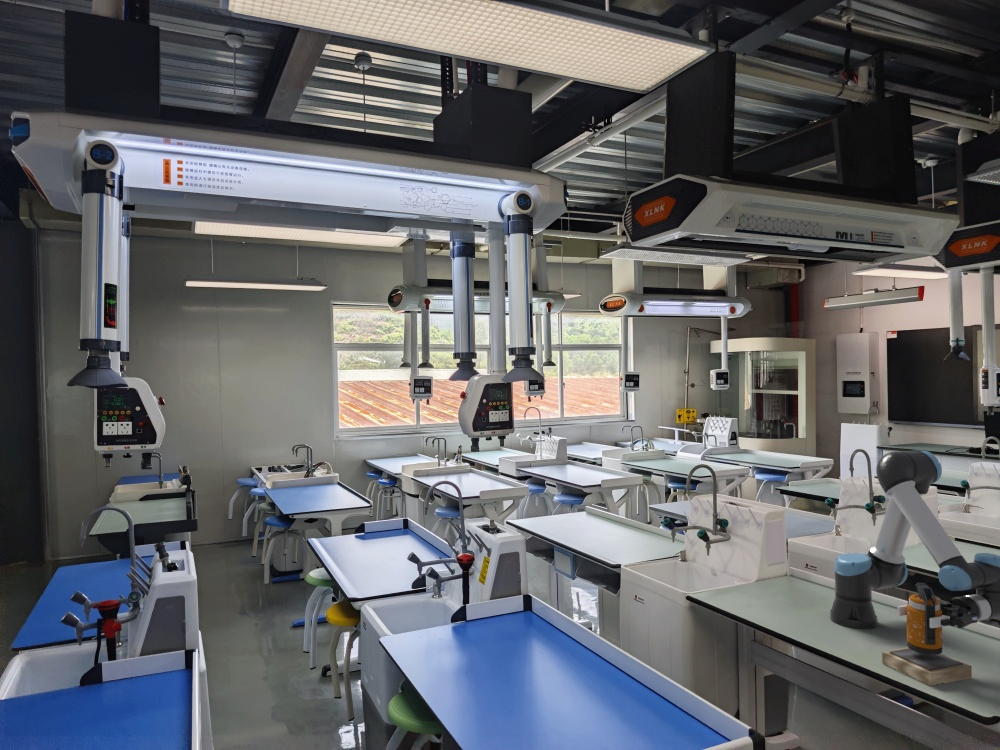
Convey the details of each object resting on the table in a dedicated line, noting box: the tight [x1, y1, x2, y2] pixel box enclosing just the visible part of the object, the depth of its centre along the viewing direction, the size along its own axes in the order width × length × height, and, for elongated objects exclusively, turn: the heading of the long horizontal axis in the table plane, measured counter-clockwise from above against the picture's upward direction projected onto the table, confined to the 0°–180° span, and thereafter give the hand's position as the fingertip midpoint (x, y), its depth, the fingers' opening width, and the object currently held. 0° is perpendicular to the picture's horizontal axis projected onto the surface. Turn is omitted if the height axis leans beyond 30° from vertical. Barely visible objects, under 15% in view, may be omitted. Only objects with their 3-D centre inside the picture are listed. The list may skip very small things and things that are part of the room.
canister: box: [906, 582, 943, 655], centre depth 198 cm, size 9×11×20 cm
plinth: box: [881, 647, 973, 686], centre depth 198 cm, size 16×16×4 cm
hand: (914, 617), depth 197 cm, fingers closed on canister, 10 cm apart
